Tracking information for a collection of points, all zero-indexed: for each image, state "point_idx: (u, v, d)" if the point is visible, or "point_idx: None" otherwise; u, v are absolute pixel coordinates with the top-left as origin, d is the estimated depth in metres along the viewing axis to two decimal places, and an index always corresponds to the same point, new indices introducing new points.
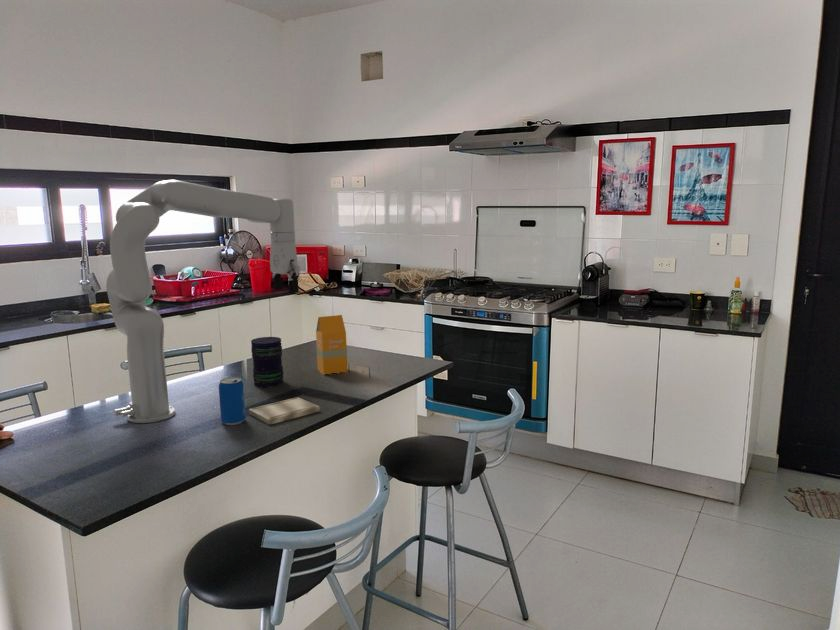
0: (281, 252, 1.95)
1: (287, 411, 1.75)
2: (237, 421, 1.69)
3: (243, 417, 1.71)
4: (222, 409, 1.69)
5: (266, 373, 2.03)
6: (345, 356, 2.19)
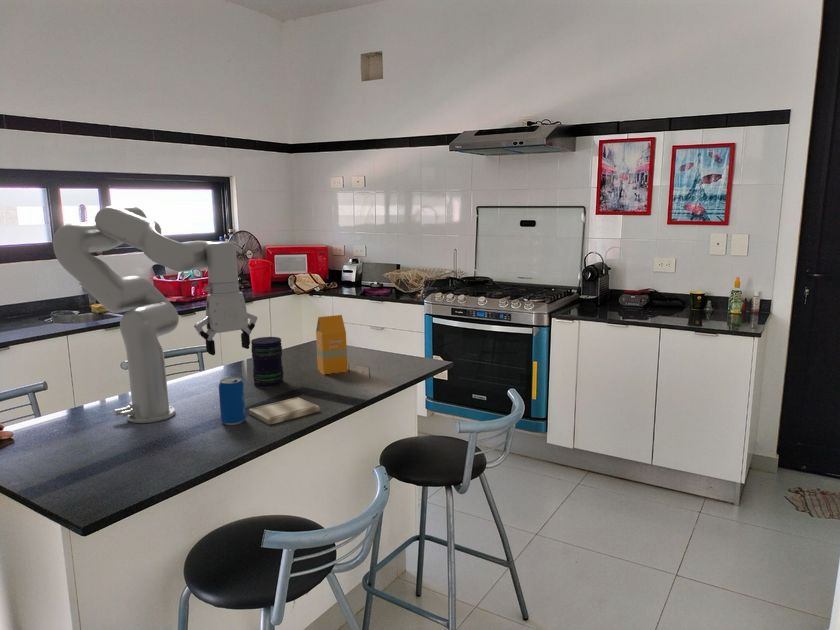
0: (241, 303, 1.66)
1: (287, 411, 1.75)
2: (237, 421, 1.69)
3: (243, 417, 1.71)
4: (222, 409, 1.69)
5: (266, 373, 2.03)
6: (345, 356, 2.19)
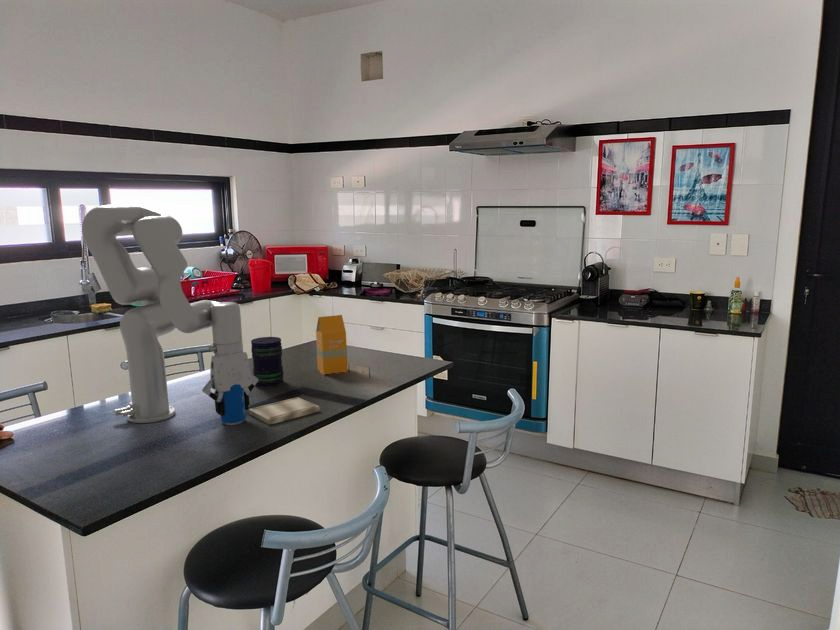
0: (245, 363, 1.69)
1: (287, 411, 1.75)
2: (237, 421, 1.69)
3: (243, 417, 1.71)
4: None
5: (266, 373, 2.03)
6: (345, 356, 2.19)
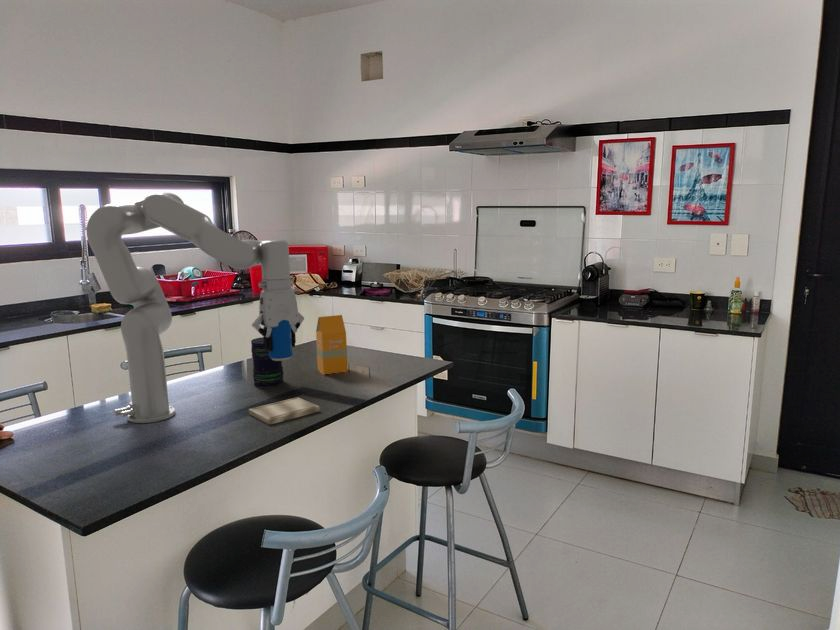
0: (292, 300, 1.73)
1: (287, 411, 1.75)
2: (285, 357, 1.73)
3: (290, 353, 1.75)
4: None
5: (266, 373, 2.03)
6: (345, 356, 2.19)
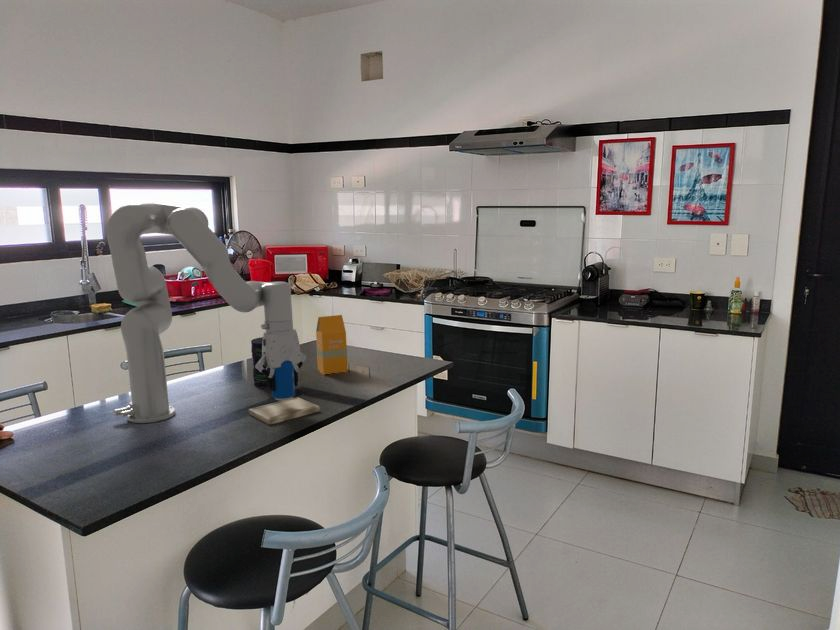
0: (295, 340, 1.75)
1: (287, 411, 1.75)
2: (288, 396, 1.75)
3: (293, 393, 1.77)
4: None
5: None
6: (345, 356, 2.19)
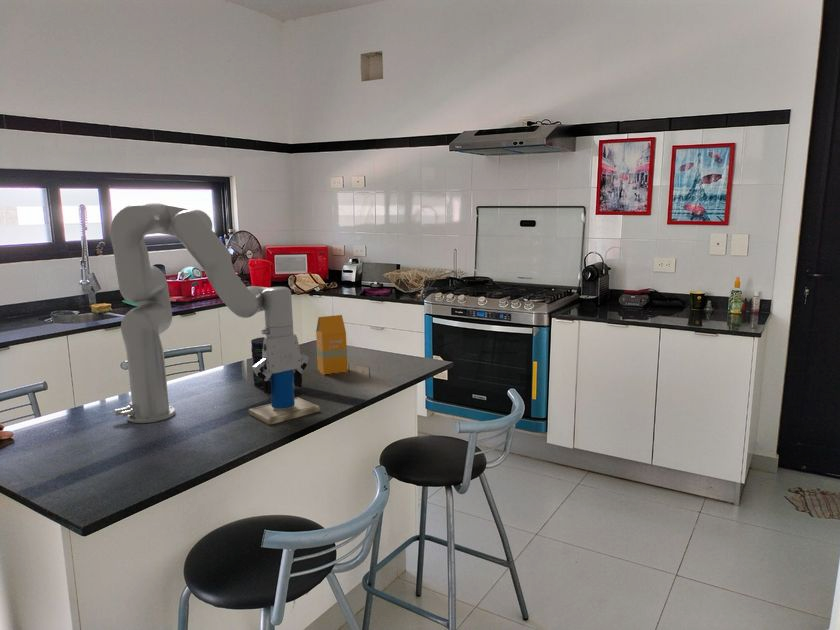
0: (295, 345, 1.75)
1: (287, 411, 1.75)
2: (287, 406, 1.76)
3: (293, 403, 1.77)
4: (273, 395, 1.75)
5: None
6: (345, 356, 2.19)
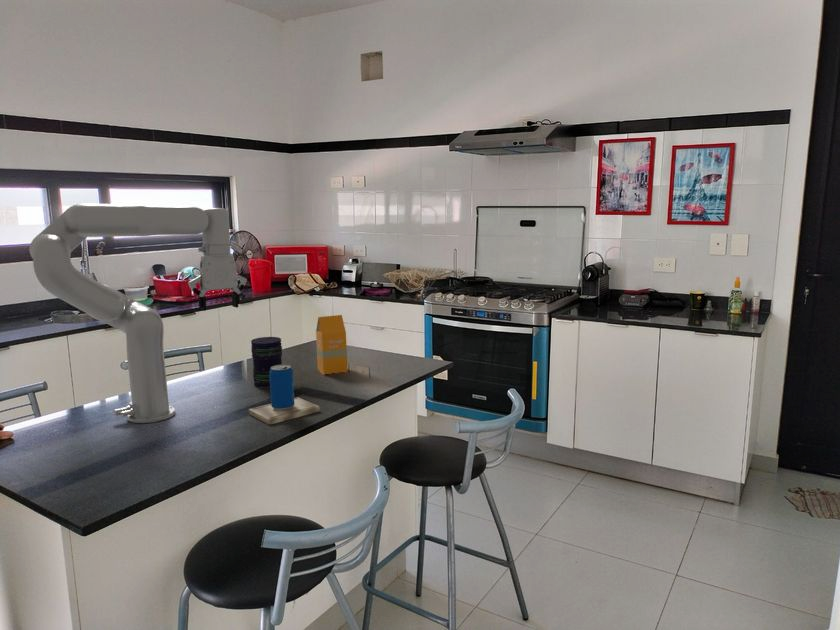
0: (231, 265, 1.83)
1: (287, 411, 1.75)
2: (287, 406, 1.76)
3: (293, 402, 1.77)
4: (273, 395, 1.75)
5: (266, 373, 2.03)
6: (345, 356, 2.19)
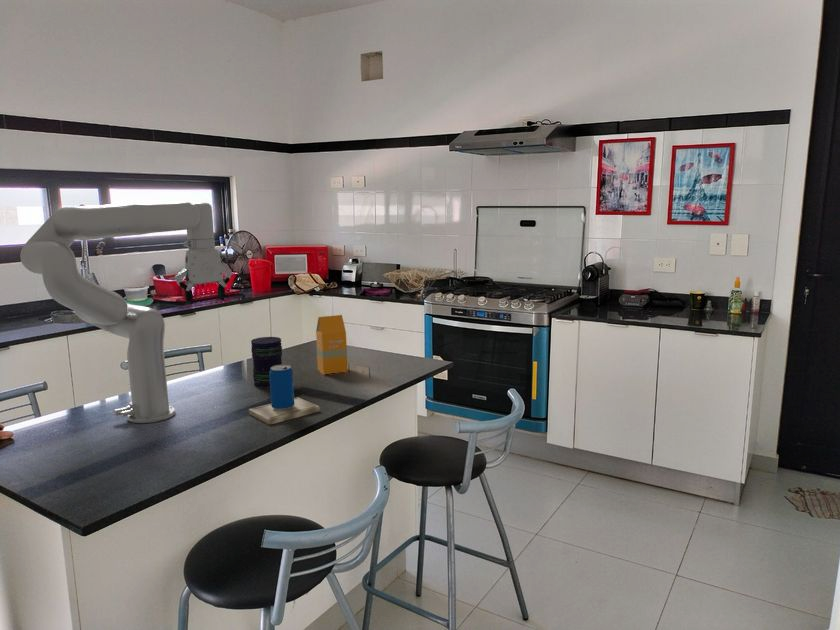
0: (216, 259, 1.86)
1: (287, 411, 1.75)
2: (288, 406, 1.76)
3: (293, 403, 1.77)
4: (273, 395, 1.75)
5: (266, 373, 2.03)
6: (345, 356, 2.19)
